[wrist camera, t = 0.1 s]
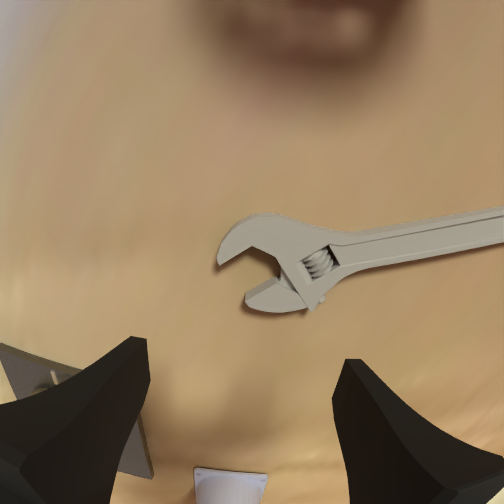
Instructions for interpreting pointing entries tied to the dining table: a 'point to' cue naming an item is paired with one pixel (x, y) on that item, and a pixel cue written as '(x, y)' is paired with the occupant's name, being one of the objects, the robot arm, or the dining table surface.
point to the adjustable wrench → (346, 251)
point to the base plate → (52, 373)
